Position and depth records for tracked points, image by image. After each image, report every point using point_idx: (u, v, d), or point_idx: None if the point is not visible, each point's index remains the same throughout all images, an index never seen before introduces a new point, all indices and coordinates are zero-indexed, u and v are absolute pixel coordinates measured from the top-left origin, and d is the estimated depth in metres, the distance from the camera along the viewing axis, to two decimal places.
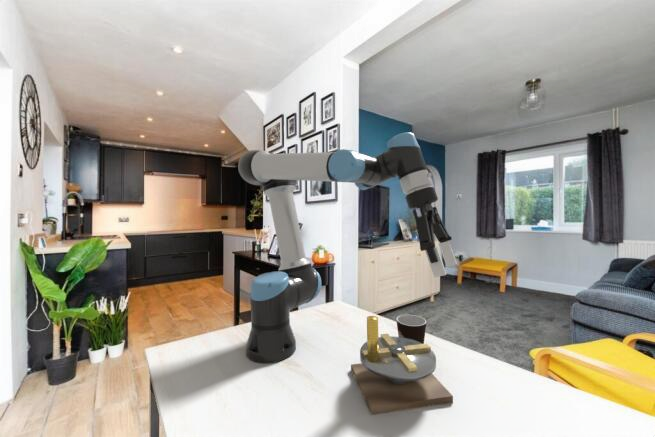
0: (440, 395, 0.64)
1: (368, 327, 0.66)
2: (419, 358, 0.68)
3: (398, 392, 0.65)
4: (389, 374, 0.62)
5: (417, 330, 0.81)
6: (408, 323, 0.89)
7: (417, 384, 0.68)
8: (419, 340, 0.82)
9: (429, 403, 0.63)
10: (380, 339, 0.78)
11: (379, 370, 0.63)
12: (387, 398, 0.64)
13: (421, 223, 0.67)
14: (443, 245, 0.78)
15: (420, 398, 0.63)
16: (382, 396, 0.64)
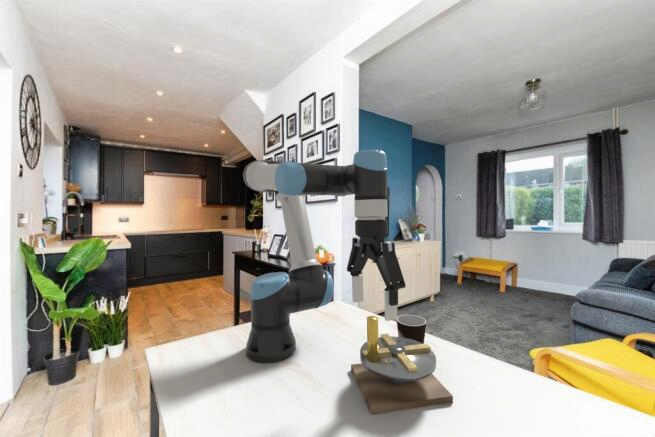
0: (440, 395, 0.64)
1: (368, 327, 0.66)
2: (419, 358, 0.68)
3: (398, 392, 0.65)
4: (389, 374, 0.62)
5: (417, 330, 0.81)
6: (408, 323, 0.89)
7: (417, 384, 0.68)
8: (419, 340, 0.82)
9: (429, 403, 0.63)
10: (380, 339, 0.78)
11: (379, 370, 0.63)
12: (387, 398, 0.64)
13: (393, 260, 0.59)
14: (357, 279, 0.72)
15: (420, 398, 0.63)
16: (382, 396, 0.64)
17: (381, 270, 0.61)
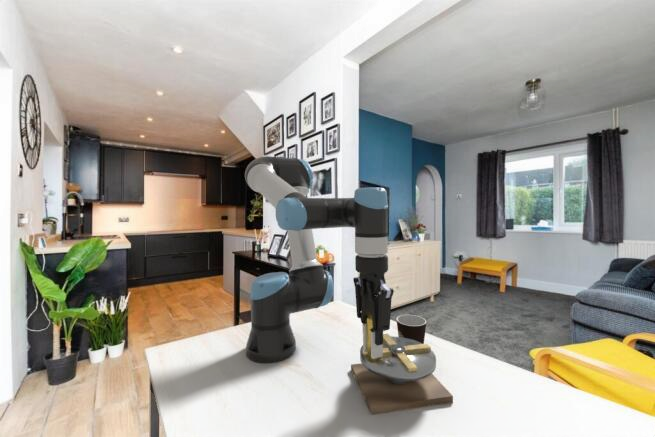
0: (440, 395, 0.64)
1: (368, 327, 0.66)
2: (419, 358, 0.68)
3: (398, 392, 0.65)
4: (389, 374, 0.62)
5: (417, 330, 0.81)
6: (408, 323, 0.89)
7: (417, 384, 0.68)
8: (419, 340, 0.82)
9: (429, 403, 0.63)
10: None
11: (379, 370, 0.63)
12: (387, 398, 0.64)
13: (386, 306, 0.62)
14: None
15: (420, 398, 0.63)
16: (382, 396, 0.64)
17: (373, 311, 0.64)
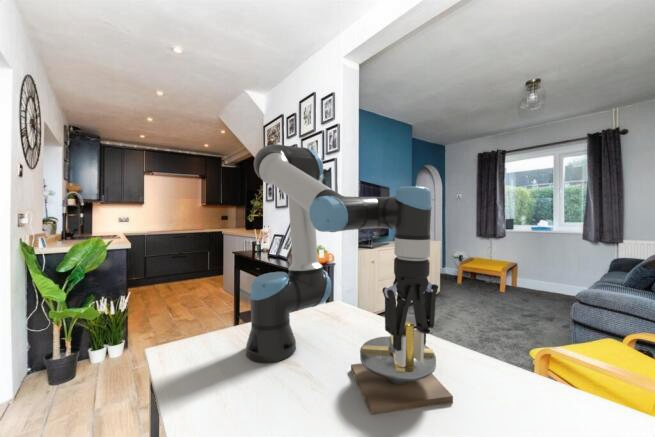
0: (440, 395, 0.64)
1: (410, 335, 0.62)
2: None
3: (398, 392, 0.65)
4: (433, 368, 0.64)
5: None
6: None
7: (417, 384, 0.68)
8: None
9: (429, 403, 0.63)
10: (365, 353, 0.70)
11: (427, 370, 0.63)
12: (387, 398, 0.64)
13: None
14: None
15: (420, 398, 0.63)
16: (382, 396, 0.64)
17: (423, 312, 0.63)
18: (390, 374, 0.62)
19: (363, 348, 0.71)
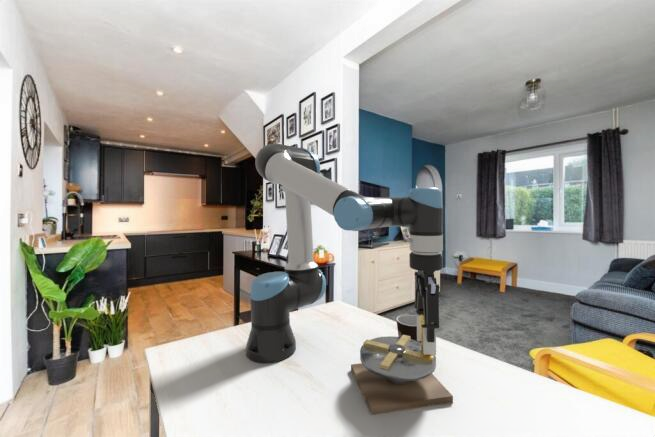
0: (440, 395, 0.64)
1: None
2: (385, 343, 0.76)
3: (398, 392, 0.65)
4: None
5: None
6: (408, 323, 0.89)
7: (417, 384, 0.68)
8: None
9: (429, 403, 0.63)
10: (392, 369, 0.63)
11: None
12: (387, 398, 0.64)
13: None
14: None
15: (420, 398, 0.63)
16: (382, 396, 0.64)
17: None
18: (432, 368, 0.64)
19: (387, 365, 0.63)
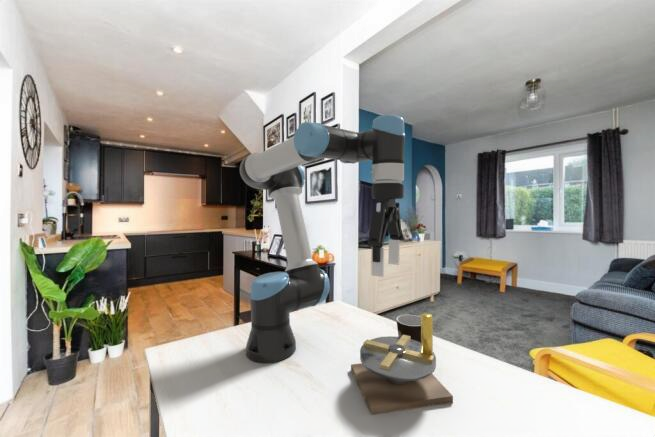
0: (440, 395, 0.64)
1: None
2: (385, 343, 0.76)
3: (398, 392, 0.65)
4: None
5: (417, 330, 0.81)
6: (408, 323, 0.89)
7: (417, 384, 0.68)
8: (419, 340, 0.82)
9: (429, 403, 0.63)
10: (392, 369, 0.63)
11: None
12: (387, 398, 0.64)
13: None
14: None
15: (420, 398, 0.63)
16: (382, 396, 0.64)
17: (397, 226, 0.74)
18: (432, 368, 0.64)
19: (387, 365, 0.63)
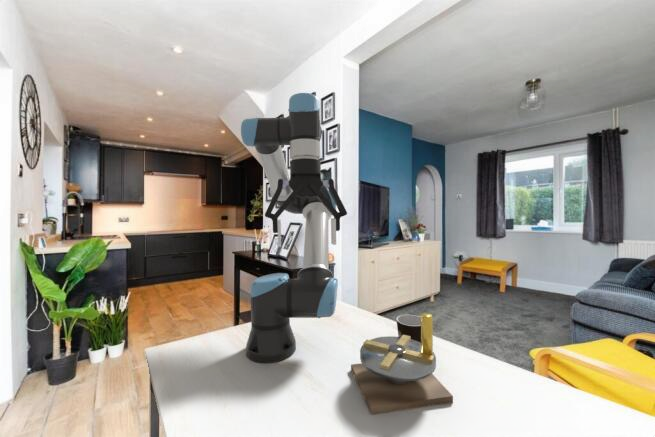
0: (440, 395, 0.64)
1: None
2: (385, 343, 0.76)
3: (398, 392, 0.65)
4: None
5: (417, 330, 0.81)
6: (408, 323, 0.89)
7: (417, 384, 0.68)
8: (419, 340, 0.82)
9: (429, 403, 0.63)
10: (392, 369, 0.63)
11: None
12: (387, 398, 0.64)
13: None
14: None
15: (420, 398, 0.63)
16: (382, 396, 0.64)
17: (328, 203, 0.71)
18: (432, 368, 0.64)
19: (387, 365, 0.63)
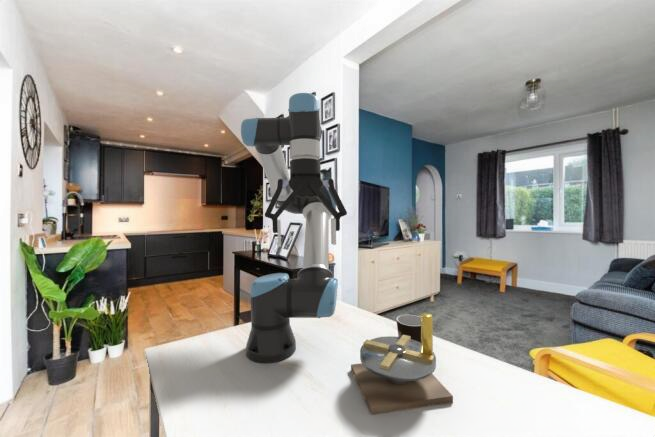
0: (440, 395, 0.64)
1: None
2: (385, 343, 0.76)
3: (398, 392, 0.65)
4: None
5: (417, 330, 0.81)
6: (408, 323, 0.89)
7: (417, 384, 0.68)
8: (419, 340, 0.82)
9: (429, 403, 0.63)
10: (392, 369, 0.63)
11: None
12: (387, 398, 0.64)
13: None
14: None
15: (420, 398, 0.63)
16: (382, 396, 0.64)
17: (328, 203, 0.71)
18: (432, 368, 0.64)
19: (387, 365, 0.63)
